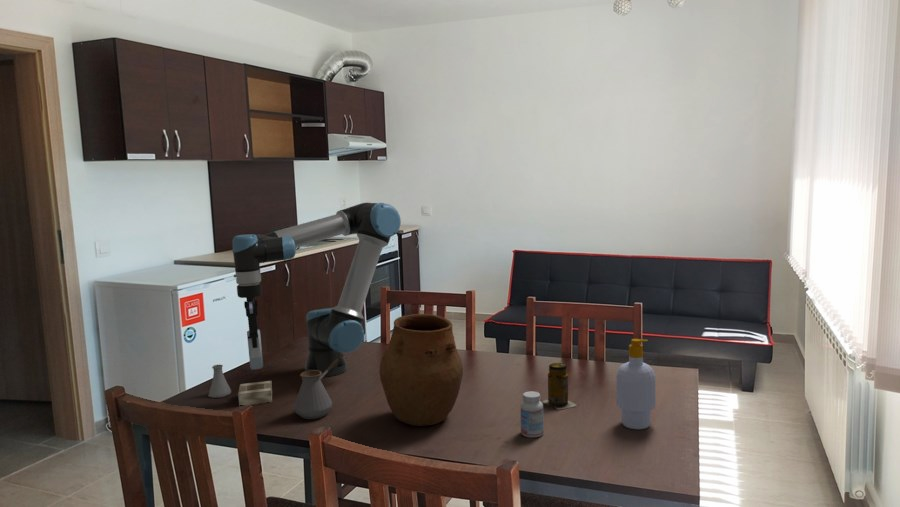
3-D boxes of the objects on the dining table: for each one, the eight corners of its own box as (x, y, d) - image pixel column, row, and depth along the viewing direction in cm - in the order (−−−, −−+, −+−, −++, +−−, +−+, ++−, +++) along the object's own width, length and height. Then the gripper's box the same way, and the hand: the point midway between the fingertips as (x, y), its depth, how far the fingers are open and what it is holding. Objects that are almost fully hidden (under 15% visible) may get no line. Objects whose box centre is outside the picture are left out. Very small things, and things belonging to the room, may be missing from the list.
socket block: (272, 392, 217) (271, 380, 217) (271, 402, 208) (270, 390, 207) (241, 395, 215) (240, 384, 214) (239, 406, 205) (238, 394, 205)
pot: (434, 443, 172) (430, 333, 168) (364, 427, 185) (358, 324, 181) (479, 412, 192) (476, 313, 188) (413, 399, 205) (408, 307, 201)
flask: (224, 398, 213) (221, 369, 211) (204, 398, 214) (201, 368, 213) (235, 391, 220) (233, 362, 218) (216, 390, 221) (213, 362, 220)
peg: (263, 364, 211) (259, 328, 209) (263, 368, 207) (259, 331, 205) (250, 366, 210) (246, 330, 208) (250, 370, 206) (246, 333, 204)
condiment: (561, 397, 202) (560, 360, 200) (577, 406, 195) (577, 367, 193) (541, 401, 199) (540, 364, 197) (557, 410, 191) (557, 371, 190)
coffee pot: (314, 424, 188) (311, 374, 186) (286, 417, 194) (282, 369, 192) (361, 400, 206) (358, 354, 204) (333, 395, 212) (330, 350, 210)
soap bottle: (658, 433, 173) (658, 345, 170) (618, 431, 175) (617, 344, 171) (652, 418, 183) (653, 335, 180) (615, 417, 185) (615, 334, 182)
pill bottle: (519, 430, 178) (518, 391, 177) (540, 428, 179) (540, 389, 177) (523, 439, 172) (522, 398, 171) (546, 437, 173) (545, 397, 171)
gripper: (237, 280, 211) (244, 349, 215) (235, 289, 195) (243, 364, 199) (260, 278, 214) (267, 346, 217) (261, 287, 197) (268, 361, 201)
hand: (255, 355), depth 208 cm, fingers closed on peg, 4 cm apart
